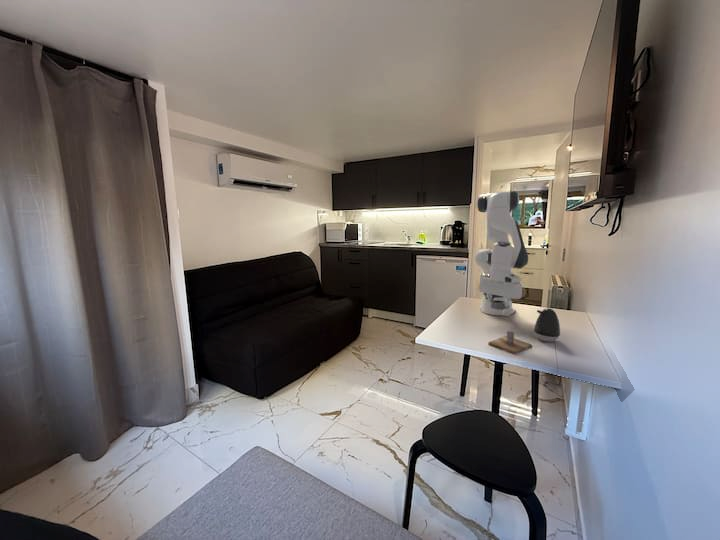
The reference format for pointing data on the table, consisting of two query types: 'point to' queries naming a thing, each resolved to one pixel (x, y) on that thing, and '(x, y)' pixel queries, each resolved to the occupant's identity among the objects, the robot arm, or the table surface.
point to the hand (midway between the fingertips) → (498, 304)
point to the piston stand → (510, 343)
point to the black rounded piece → (547, 326)
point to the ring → (497, 304)
